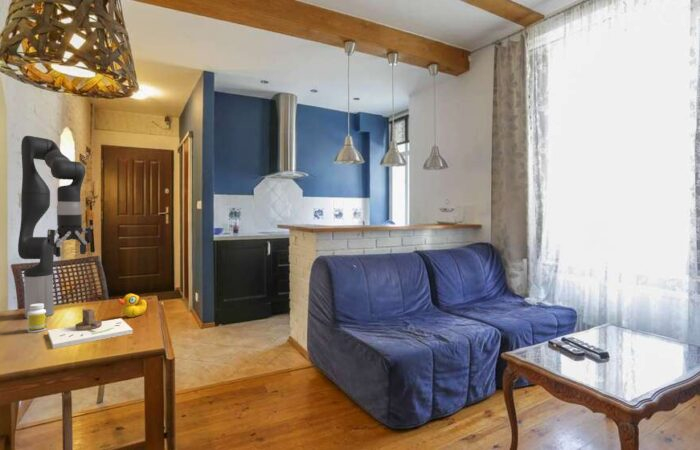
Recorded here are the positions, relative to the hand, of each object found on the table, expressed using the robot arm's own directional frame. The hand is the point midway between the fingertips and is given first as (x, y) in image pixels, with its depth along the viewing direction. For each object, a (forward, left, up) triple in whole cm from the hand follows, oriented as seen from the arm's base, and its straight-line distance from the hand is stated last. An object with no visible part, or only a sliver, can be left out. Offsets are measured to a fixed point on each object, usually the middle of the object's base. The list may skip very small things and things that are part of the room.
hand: (70, 255), depth 143 cm
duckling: (+2, +21, -28) cm, 35 cm away
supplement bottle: (-1, -10, -28) cm, 30 cm away
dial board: (+16, +4, -28) cm, 32 cm away
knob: (+14, +4, -26) cm, 30 cm away
